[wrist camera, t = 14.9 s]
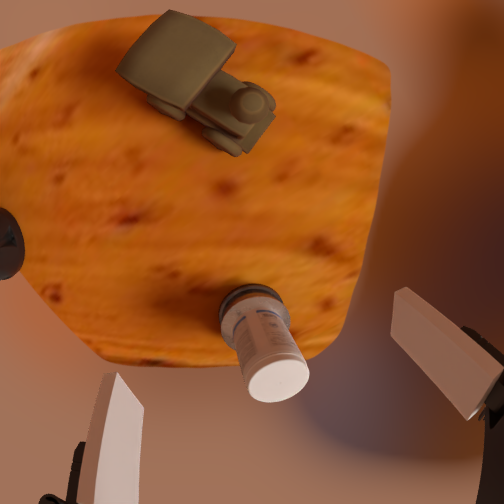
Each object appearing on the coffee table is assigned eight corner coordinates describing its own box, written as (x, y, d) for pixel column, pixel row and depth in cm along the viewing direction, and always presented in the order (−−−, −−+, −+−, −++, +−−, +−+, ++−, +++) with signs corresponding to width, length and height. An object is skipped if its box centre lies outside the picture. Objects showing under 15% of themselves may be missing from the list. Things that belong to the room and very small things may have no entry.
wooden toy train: (138, 101, 36) (107, 76, 21) (180, 49, 34) (173, 2, 19) (237, 163, 43) (258, 168, 28) (276, 110, 41) (316, 91, 26)
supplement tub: (245, 353, 51) (261, 411, 37) (221, 320, 47) (233, 380, 33) (289, 331, 51) (317, 385, 37) (271, 295, 47) (299, 349, 34)
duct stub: (207, 324, 53) (208, 340, 48) (240, 272, 50) (245, 285, 45) (260, 345, 57) (265, 360, 52) (294, 299, 54) (303, 312, 50)
